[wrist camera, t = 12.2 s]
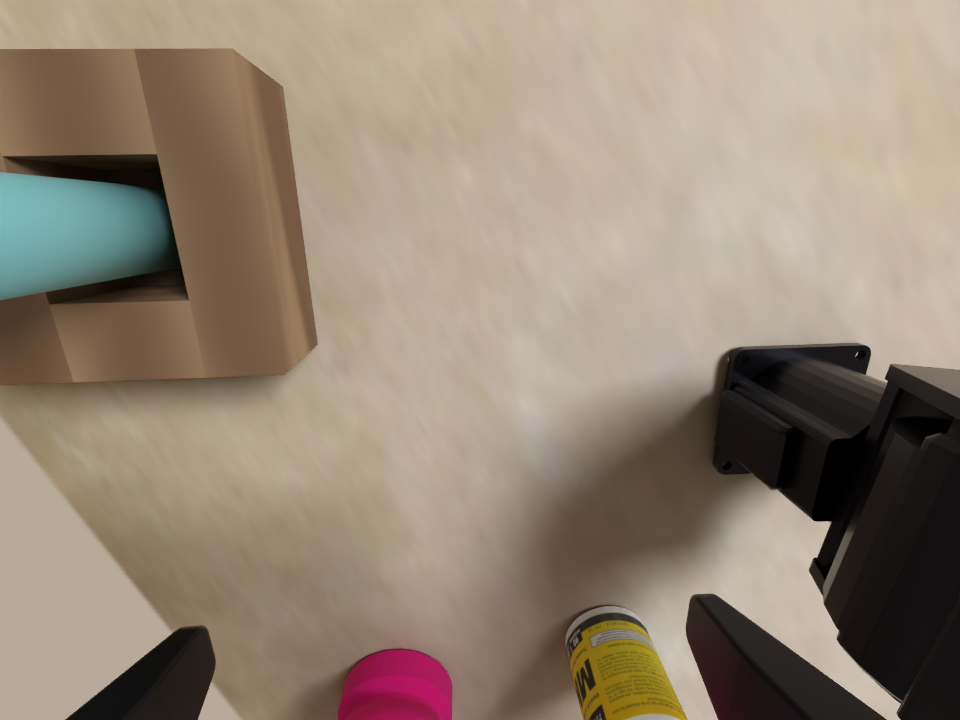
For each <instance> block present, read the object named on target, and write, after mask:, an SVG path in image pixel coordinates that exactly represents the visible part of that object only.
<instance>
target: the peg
mask: <svg viewBox="0 0 960 720" xmlns="http://www.w3.org/2000/svg"><path fill="white" fill-rule="evenodd" d="M179 267H182V266H181V261H180V257H179V252H178V248H177V243H176V239H175V234H174V230H173V225H172V220H171V216H170V211H169V207H168V202H167V198H166V193H165V189H164V188H157V187H147V186H137V185H127V184H116V183H106V182H96V181H86V180H76V179H65V178H55V177H45V176H35V175H24V174H14V173H4V172H0V300H5V299H10V298H16V297H21V296H27V295H32V294H38V293H43V292H49V291H54V290H59V289H65V288H70V287H76V286H81V285H87V284H92V283H97V282H103V281H108V280H114V279H119V278H125V277H130V276H135V275H141V274H146V273H152V272H157V271H163V270H168V269H173V268H179Z"/></svg>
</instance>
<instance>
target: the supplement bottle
mask: <svg viewBox="0 0 960 720" xmlns="http://www.w3.org/2000/svg"><path fill="white" fill-rule="evenodd" d="M565 648H566V652H567V657H568V661H569V664H570V668H571V672H572V676H573V680H574V684H575V689H576V692H577V696H578V700H579V704H580V708H581V711H582V715H583V719H584V720H687V718H686V715H685V713H684V711H683V709H682V707H681V705H680V703H679V700H678V698H677V696H676V694H675V692H674V690H673V688H672V685H671V683H670V681H669V679H668V676H667V674H666V672H665V670H664V668H663V665H662V663H661V661H660V659H659V656H658V654H657V652H656V650H655V648H654V646H653V643H652V641H651V639H650V637H649V635H648V632H647V630H646V628H645V626H644V624H643V622H642V621H641V620H640V618H639V617H638V616H637V615H636V614H634V613H633V612H632V611H630V610H628V609H625V608H622V607H617V606H605V607H599V608H596V609H593V610H590V611H588V612H586V613H584V614H582V615H581V616H579V617H578V618H577V619H576V620H575V621H574V622H573V623H572V624H571V626H570V627H569V629H568V631H567V634H566V638H565Z"/></svg>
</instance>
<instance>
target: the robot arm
mask: <svg viewBox="0 0 960 720" xmlns="http://www.w3.org/2000/svg"><path fill="white" fill-rule="evenodd" d="M857 352H858V355H857V356H856V357H855V355H856V353H857ZM743 355H745V358H744V360H743V361H742V362H739V360H740V357H741V356H743ZM870 356H871V350H870V348H869V347H867V346H865V345H862V344H859V343H840V344H811V345H783V346H755V347H739V348H736V349H735V350H733V351H732V353H731V354H730V357H729V362H728V368H727V374H726V381H725V387H724V392H723V394H722V396H721V402H720V408H719V414H718V421H717V427H716V434H715V441H716V444H715V451H714V457H713V466H714V468H715V469H716V470H717V471H718V472H719V473H721V474H724V475H728V474H749V473H752V474H753V475H754V476H756V477H757V478H758V479H759V480H760V481H761V482H762V483H764V484H765V485H766V486H767V487H768V488H769V489H771V490H778V491H779V492H780V493H782V494H783V495H784V496H785V497H786V498H788V499H789V500H790V501H791V502H792V503H793V504H795V505H796V506H797V507H798V508H799V509H800V510H802V511H803V512H804V513H805V514H806V515H808V516H809V517H810V518H811V519H812V520H813V521H817V522H818V521H829V522H830V523H831V524H830V527H829V529H828V532H827V534H826V537H825V539H824V542H823V544H822V547H821V549H820V552H819V554H818V557H817V558H814V559H813V561H812V563H811V566H810V568H809V572H810V574H811V575H812V577H813V579H814V581H815V583H816V585H817V586H818V588H819V590H820V592H821V594H822V595H823V600H824V605H825V607H826V609H827V611H828V613H829V614H830V616H831V618H832V620H833V622H834V624H835V626H836V627H837V629H838V630H839V632H838V635H837V640H838V642H839V644H840V645H841V647H842V648H843V649H844V650H845V651H846V653H847V654H848V655H849V656H850V657H851V658H852V659H853V660H854V661H855V662H856V663H857V665H858V666H859V667H860V668H861V669H862V670H863V671H864V672H865V673H866V674H868V675H869V676H870V677H871V678H872V679H873V680H874V681H875V682H877V684H878V685H879V686H881V687H882V688H883V689H884V690H885V691H886V692H887V693H888V694H890V695H891V696H892V697H893V698H894V699H895V700H897V701H898V702H899V703H901V705H900V707H899V709H898V711H897V715H898V717H899V718H900V719H901V720H960V370H954V369H943V368H932V367H921V366H910V365H899V364H891V365H890V367H889V370H888V372H887V375H886V377H885V379H886V380H888V382H887V383H885V382H883V381H880V380H877V379H875V378H872V377H870V376H867V375H866V371H867V368H868V364H869V360H870ZM724 462H727V463H726V464H725V465H724V466H722V465H723V463H724ZM686 635H687V639H688V642H689V645H690V648H691V650H692V653H693V655H694V658H695V661H696V663H697V666H698V668H699V671H700V674H701V676H702V679H703V681H704V684H705V687H706V689H707V692H708V694H709V697H710V700H711V702H712V705H713V707H714V710H715V713H716V715H717V718H718V720H886V719H885V718H884V717H882V716H881V715H880V714H878V713H877V712H876V711H874V710H873V709H871V708H870V707H869V706H867V705H866V704H865V703H863V702H862V701H860V700H859V699H858V698H856V697H855V696H854V695H852V694H851V693H850V692H848V691H847V690H845V689H844V688H843V687H841V686H840V685H839V684H837V683H836V682H834V681H833V680H832V679H830V678H829V677H828V676H826V675H825V674H824V673H822V672H821V671H819V670H818V669H817V668H815V667H814V666H813V665H811V664H810V663H808V662H807V661H806V660H804V659H803V658H802V657H800V656H799V655H798V654H796V653H795V652H793V651H792V650H791V649H789V648H788V647H787V646H785V645H784V644H782V643H781V642H780V641H778V640H777V639H776V638H774V637H773V636H772V635H770V634H769V633H767V632H766V631H765V630H763V629H762V628H761V627H759V626H758V625H756V624H755V623H754V622H752V621H751V620H750V619H748V618H747V617H746V616H744V615H743V614H741V613H740V612H739V611H737V610H736V609H735V608H733V607H732V606H730V605H729V604H728V603H726V602H725V601H724V600H722V599H721V598H720V597H718V596H716V595H714V594H696V595H693V596H692V597H691V599H690V603H689V609H688V616H687V622H686ZM215 664H216V660H215V654H214V651H213V647H212V643H211V639H210V636H209V632H208V629H207V628H206V627H205V626H202V625H201V626H186V627H181V628H179V629H178V630H176V631H175V632H174V633H172V634H171V635H170V636H169V637H167V638H166V639H165V640H164V641H162V642H161V643H160V644H159V645H157V646H156V647H155V648H154V649H152V650H151V651H150V652H149V653H147V654H146V655H145V656H144V657H142V658H141V659H140V660H139V661H138V662H136V663H135V664H134V665H133V666H131V667H130V668H129V669H128V670H126V671H125V672H124V673H123V674H121V675H120V676H119V677H118V678H117V679H115V680H114V681H113V682H111V683H110V684H109V685H108V686H107V687H105V688H104V689H103V690H102V691H100V692H99V693H98V694H97V695H95V696H94V697H93V698H92V699H90V700H89V701H88V702H87V703H86V704H84V705H83V706H82V707H80V708H79V709H78V710H77V711H76V712H74V713H73V714H72V715H70V716H69V717H68V718H67V719H66V720H198V717H199V714H200V711H201V709H202V706H203V703H204V700H205V697H206V694H207V691H208V689H209V686H210V683H211V680H212V677H213V674H214V671H215Z"/></svg>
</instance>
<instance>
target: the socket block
mask: <svg viewBox="0 0 960 720" xmlns="http://www.w3.org/2000/svg"><path fill="white" fill-rule="evenodd" d="M156 168H160V170H161V175H162V179H163V184H164V189H165V193H166V198H167V202H168V207H169V211H170V216H171V220H172V225H173V230H174V234H175V239H176V243H177V248H178V252H179V257H180V261H181V266H182V271H183V275H184V280H185V284H186V285H170V286H133V287H132V286H131V282H130V278H129V277H125V278H119V279H114V280H108V281H103V282H97V283H92V284H87V285H81V286H76V287H70V288H65V289H59V290H54V291H49V292H43V293H38V294H32V295H27V296H21V297H16V298H10V299H5V300H0V385H18V384H45V383H73V382H100V381H127V380H155V379H182V378H210V377H237V376H265V375H285V374H286V373H288V372H289V371H290V370H291V369H292V368H293V367H294V366H295V365H296V364H297V363H298V362H299V361H300V360H301V359H302V358H303V357H305V356H306V355H307V354H308V353H309V352H310V351H311V350H312V349H313V348H314V347H315V346H316V345H317V337H316V329H315V322H314V315H313V307H312V300H311V293H310V285H309V278H308V270H307V263H306V256H305V248H304V241H303V234H302V226H301V219H300V211H299V204H298V197H297V189H296V182H295V174H294V167H293V160H292V152H291V145H290V138H289V130H288V123H287V115H286V108H285V101H284V93H283V87H282V86H281V85H280V84H279V83H277V82H276V81H275V80H273V79H272V78H271V77H269V76H268V75H267V74H265V73H264V72H263V71H261V70H260V69H259V68H257V67H256V66H255V65H253V64H252V63H251V62H249V61H248V60H247V59H245V58H244V57H243V56H241V55H240V54H239V53H237V52H236V51H235V50H234V49H0V172H4V173H14V174H24V175H35V176H45V177H55V178H65V179H76V180H86V181H96V182H105V180H104V177H103V173H102V169H156Z"/></svg>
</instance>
